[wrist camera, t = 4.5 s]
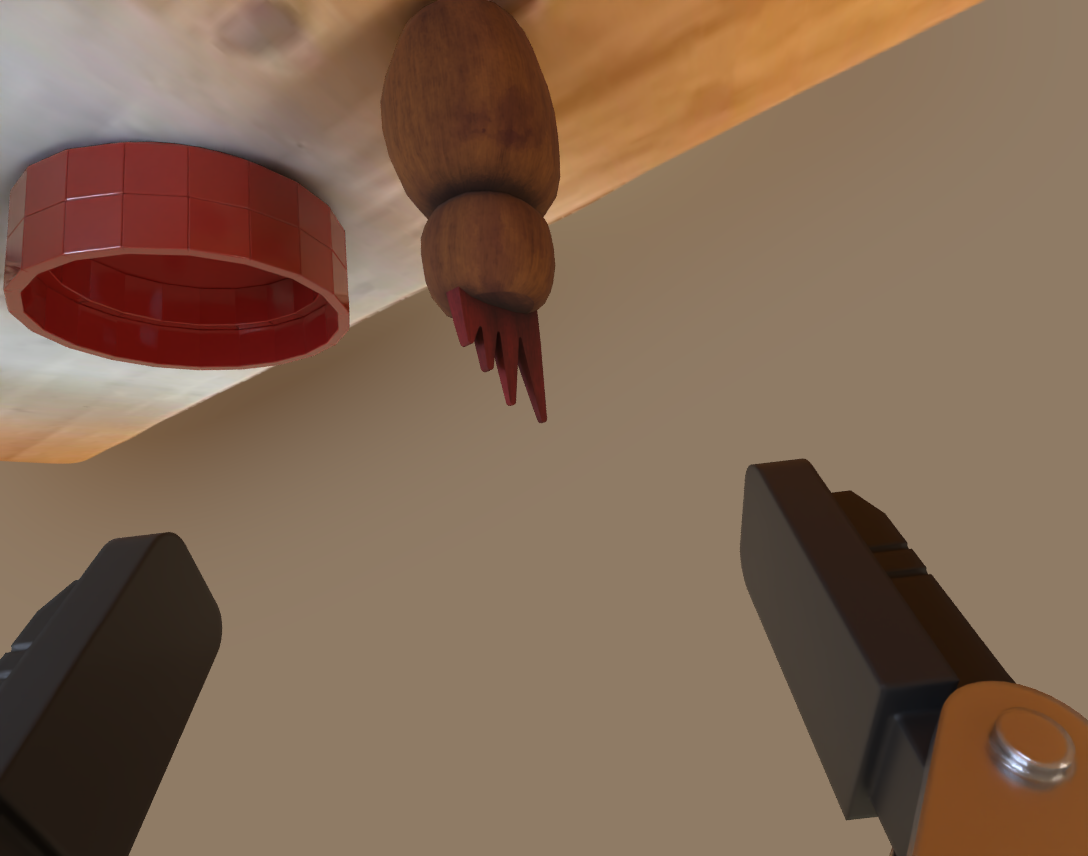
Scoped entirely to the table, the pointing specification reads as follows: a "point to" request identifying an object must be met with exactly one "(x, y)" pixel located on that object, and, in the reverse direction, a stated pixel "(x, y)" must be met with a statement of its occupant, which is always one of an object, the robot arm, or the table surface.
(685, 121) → the table surface
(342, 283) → the bowl
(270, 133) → the table surface
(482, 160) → the wooden figurine
